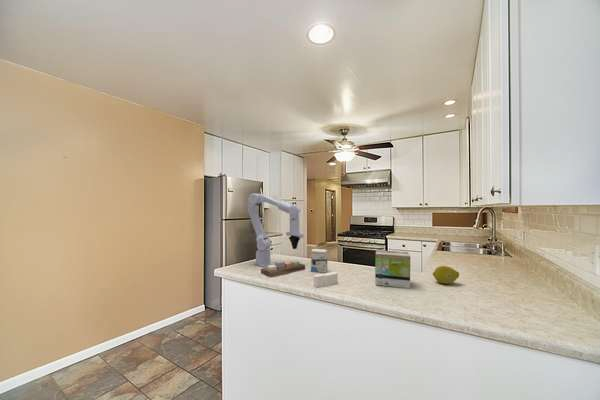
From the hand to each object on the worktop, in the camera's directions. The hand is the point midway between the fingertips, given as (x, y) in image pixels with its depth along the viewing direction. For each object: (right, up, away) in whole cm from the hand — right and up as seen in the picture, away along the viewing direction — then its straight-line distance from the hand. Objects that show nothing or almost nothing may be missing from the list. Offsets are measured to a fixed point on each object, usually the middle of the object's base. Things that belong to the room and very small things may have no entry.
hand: (294, 248), depth 150 cm
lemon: (+71, -10, -33) cm, 79 cm away
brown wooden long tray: (-6, -11, -10) cm, 16 cm away
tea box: (+46, -10, -32) cm, 57 cm away
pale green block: (0, -9, -5) cm, 11 cm away
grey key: (-8, -8, -12) cm, 16 cm away
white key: (-12, -10, -15) cm, 21 cm away
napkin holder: (+15, -11, -32) cm, 37 cm away
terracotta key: (-4, -9, -8) cm, 13 cm away
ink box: (+14, -11, -11) cm, 20 cm away
